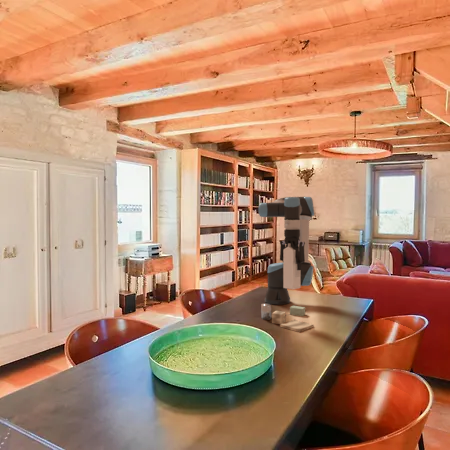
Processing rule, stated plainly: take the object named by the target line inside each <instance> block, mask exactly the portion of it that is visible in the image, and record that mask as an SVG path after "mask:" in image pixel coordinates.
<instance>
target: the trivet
mask: <svg viewBox="0 0 450 450" xmlns="http://www.w3.org/2000/svg"><path fill="white" fill-rule="evenodd" d="M279 326H280V328H284V329H287V330H291V331H293V332H294V331H295V332H297V333H301V332H304V331H307V330H309V329H312V328H314V324H313V323H309V322H306V321H301V320H298V319H293V320H288V321H286V322H285V323H283V324H279Z"/></svg>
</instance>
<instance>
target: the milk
mask: <svg viewBox="0 0 450 450" xmlns="http://www.w3.org/2000/svg"><path fill="white" fill-rule="evenodd" d="M282 263H283V288H287V290H297V289H301V286H300V277H295V264H296V263H297V262H296V258H295V250H294V249H293V248H292V247H291V243H288V247H287V248H285V249H284V250H283V261H282ZM300 271H301V270H300Z"/></svg>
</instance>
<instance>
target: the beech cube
mask: <svg viewBox="0 0 450 450" xmlns="http://www.w3.org/2000/svg"><path fill="white" fill-rule="evenodd" d="M286 318H287V317H286V311H281V310H275V311H273V312H271V323H272V324H276V325H280V324H283V323H286V322H287V321H286Z"/></svg>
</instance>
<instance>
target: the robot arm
mask: <svg viewBox="0 0 450 450" xmlns="http://www.w3.org/2000/svg"><path fill="white" fill-rule="evenodd" d="M258 215H259V217H260V218H284V220H283V221H284V225H283V226H284V231H283V235H284V240H279V244H280V248H279V249H280V251H279V261H281V262H276V263H271V264H269V265H268V267H267V271H266V272H267V290H266V293H265V296H264V302H265V303H267V304H271V305H287V304H290V303H291V297H290V294H289V289H287V288H283V250H284V249H285V248H287V247H288V243H291V247H292V248H293V249H294V250H295V258H296V262H297V263H296V264H295V277H300V287H305V286H306V287H308V286H310V285H312V281H313V275H314V266H313V265H312V263H311V262H310V260H309V249H310V247H309V246H310V245H309V244H310V242H309V241H310V221H311V220H312V219H313V216H315V209H314V200H313V197H311V196H284V197H281V198H277V199H275V200H273V201H272V202H271V201H270V202H261V203H259V205H258ZM300 270H301V271H300Z"/></svg>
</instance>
